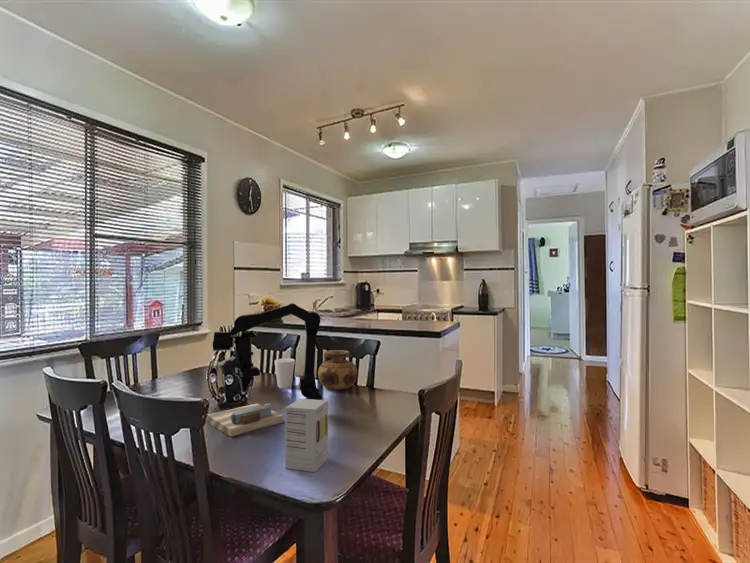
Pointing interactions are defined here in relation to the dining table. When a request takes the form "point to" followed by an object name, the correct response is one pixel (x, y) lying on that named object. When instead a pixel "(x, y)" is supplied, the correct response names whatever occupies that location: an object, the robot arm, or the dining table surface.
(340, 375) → the clay pot
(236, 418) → the hinged leg
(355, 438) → the dining table surface
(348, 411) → the dining table surface
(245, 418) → the block
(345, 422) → the dining table surface
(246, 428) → the stool seat
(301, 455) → the supplement box
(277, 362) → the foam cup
